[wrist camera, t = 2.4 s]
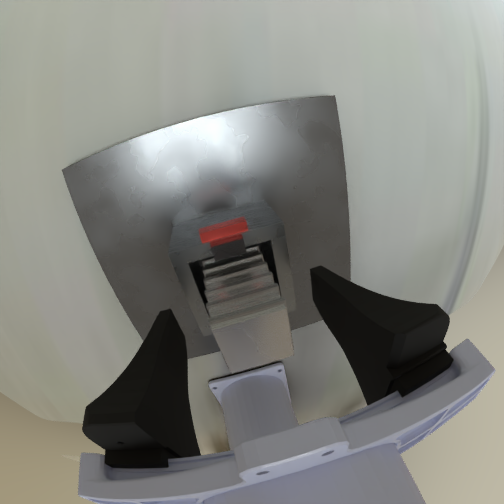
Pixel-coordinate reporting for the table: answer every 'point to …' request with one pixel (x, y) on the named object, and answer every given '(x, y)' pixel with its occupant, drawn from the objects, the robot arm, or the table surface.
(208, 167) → the stand base
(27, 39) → the table surface
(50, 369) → the table surface
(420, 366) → the robot arm
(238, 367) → the lift column
